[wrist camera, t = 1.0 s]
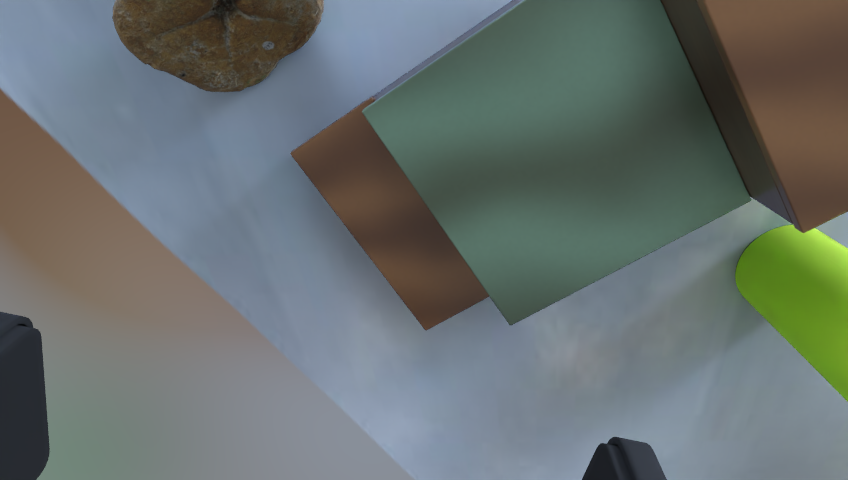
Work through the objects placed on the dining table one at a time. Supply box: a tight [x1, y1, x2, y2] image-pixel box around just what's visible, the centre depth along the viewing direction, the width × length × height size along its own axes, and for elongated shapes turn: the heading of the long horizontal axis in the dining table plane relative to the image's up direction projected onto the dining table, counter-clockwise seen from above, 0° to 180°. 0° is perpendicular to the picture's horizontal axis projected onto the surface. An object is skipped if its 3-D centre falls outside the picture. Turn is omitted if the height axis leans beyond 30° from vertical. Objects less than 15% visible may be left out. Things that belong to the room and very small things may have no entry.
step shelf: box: [290, 0, 848, 330], centre depth 27 cm, size 13×24×11 cm, turn 123°
